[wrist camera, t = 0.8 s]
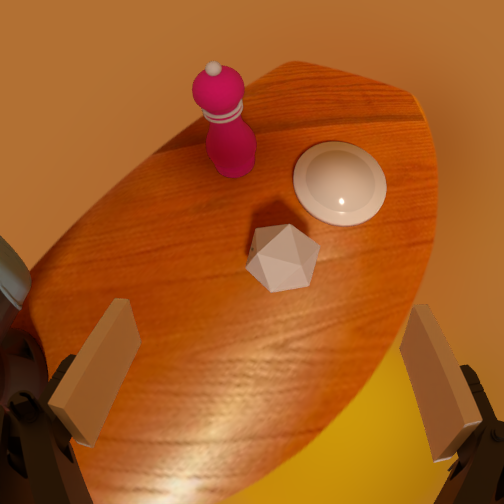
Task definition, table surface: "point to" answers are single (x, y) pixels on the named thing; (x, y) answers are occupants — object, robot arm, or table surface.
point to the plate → (339, 184)
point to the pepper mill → (225, 119)
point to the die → (282, 257)
